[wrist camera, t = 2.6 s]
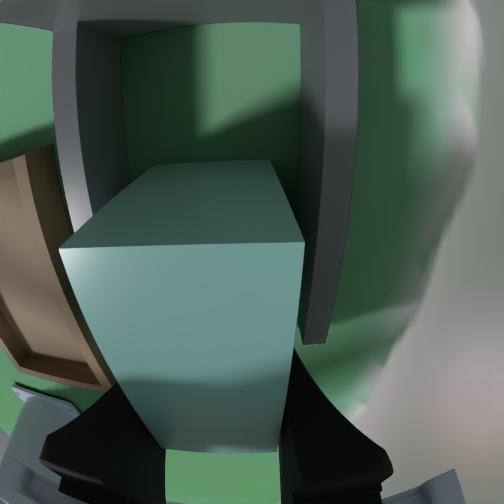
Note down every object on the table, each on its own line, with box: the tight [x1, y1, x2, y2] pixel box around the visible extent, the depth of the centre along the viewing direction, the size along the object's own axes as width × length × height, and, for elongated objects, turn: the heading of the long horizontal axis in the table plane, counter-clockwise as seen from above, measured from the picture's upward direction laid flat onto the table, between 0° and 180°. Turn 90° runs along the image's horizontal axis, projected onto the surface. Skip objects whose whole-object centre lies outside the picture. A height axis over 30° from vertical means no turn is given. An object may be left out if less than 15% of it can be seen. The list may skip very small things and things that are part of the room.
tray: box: [0, 145, 117, 393], centre depth 11 cm, size 13×8×2 cm, turn 1°
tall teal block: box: [59, 160, 305, 453], centre depth 9 cm, size 9×4×6 cm, turn 1°
